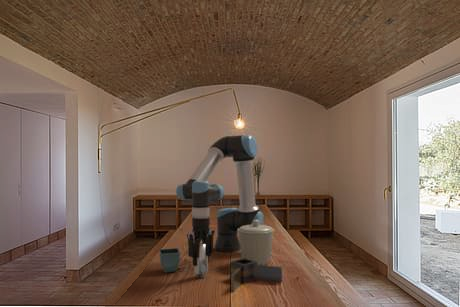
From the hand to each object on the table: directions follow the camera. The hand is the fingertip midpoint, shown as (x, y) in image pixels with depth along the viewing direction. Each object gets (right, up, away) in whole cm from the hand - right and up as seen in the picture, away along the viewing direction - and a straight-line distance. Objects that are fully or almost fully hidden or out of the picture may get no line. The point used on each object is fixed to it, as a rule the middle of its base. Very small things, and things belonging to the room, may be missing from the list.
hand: (201, 271), depth 149 cm
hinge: (+20, -2, -8) cm, 21 cm away
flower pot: (-15, -3, +9) cm, 18 cm away
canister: (+25, -3, +20) cm, 32 cm away
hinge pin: (0, -2, 0) cm, 2 cm away
